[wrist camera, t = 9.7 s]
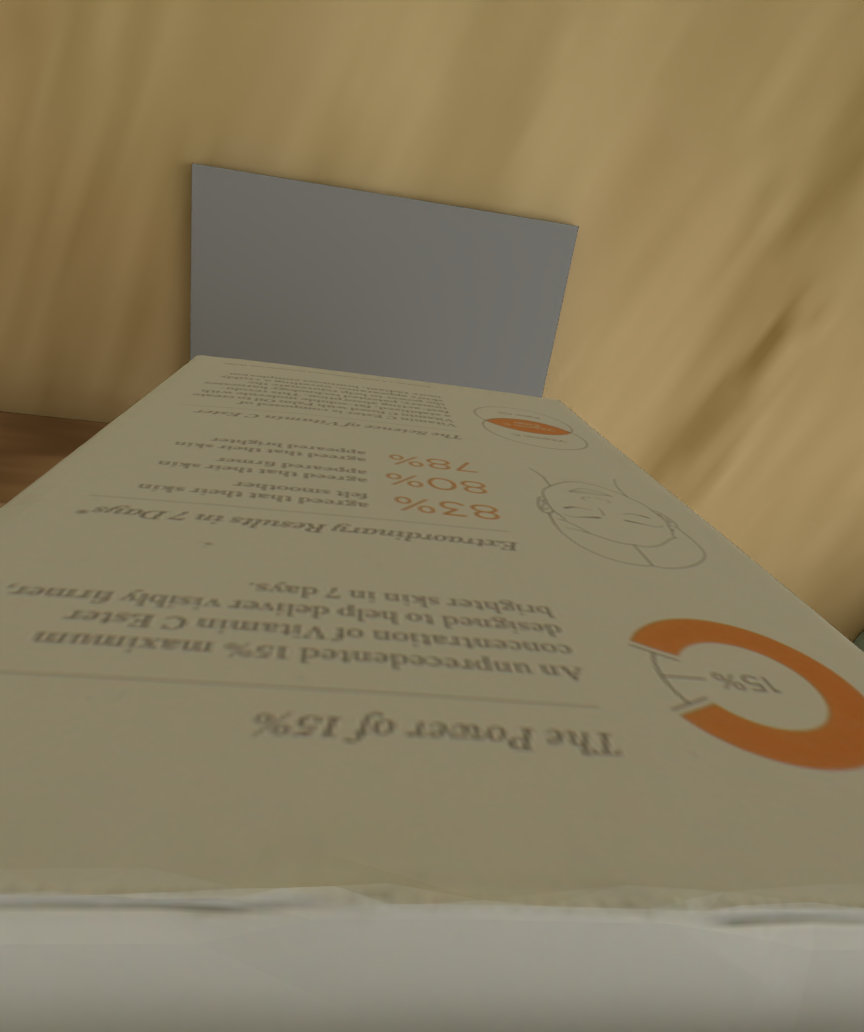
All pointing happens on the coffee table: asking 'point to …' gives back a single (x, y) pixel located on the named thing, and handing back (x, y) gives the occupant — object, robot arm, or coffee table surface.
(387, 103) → the coffee table surface
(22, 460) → the slot
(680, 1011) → the small box
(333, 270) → the coaster
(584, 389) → the coffee table surface
